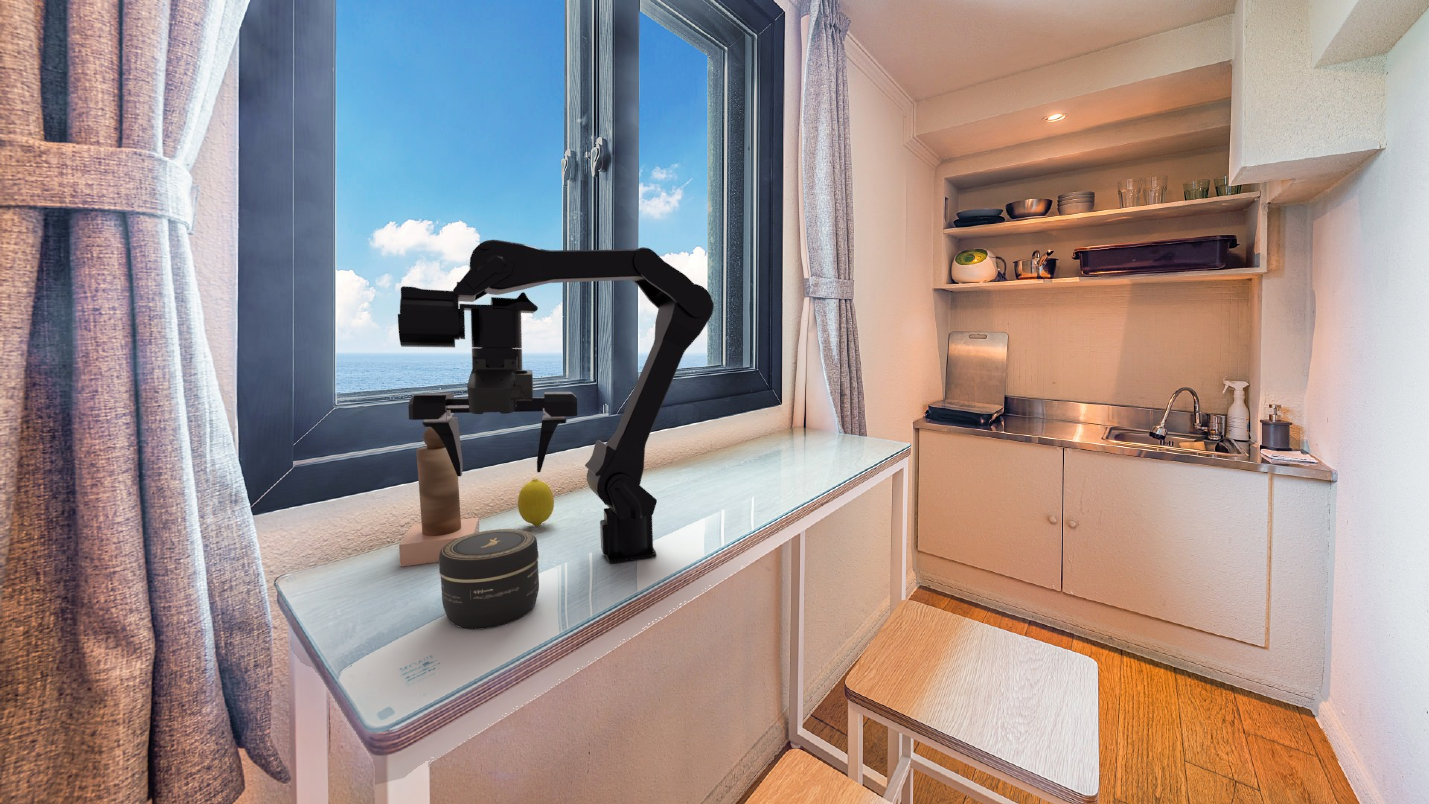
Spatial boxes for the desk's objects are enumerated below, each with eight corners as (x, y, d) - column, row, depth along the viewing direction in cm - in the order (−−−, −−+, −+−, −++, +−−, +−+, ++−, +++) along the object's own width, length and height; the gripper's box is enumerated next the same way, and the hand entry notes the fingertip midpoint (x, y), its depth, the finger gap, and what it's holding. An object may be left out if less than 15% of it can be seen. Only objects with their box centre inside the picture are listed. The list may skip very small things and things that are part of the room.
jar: (539, 584, 65) (536, 523, 64) (543, 622, 55) (539, 551, 55) (448, 598, 61) (444, 534, 61) (436, 641, 52) (431, 566, 51)
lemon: (560, 521, 89) (558, 474, 88) (546, 532, 83) (544, 482, 82) (528, 521, 89) (526, 474, 89) (512, 532, 84) (510, 482, 83)
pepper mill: (466, 523, 79) (460, 422, 77) (453, 535, 74) (446, 427, 72) (431, 525, 78) (424, 423, 77) (415, 536, 73) (408, 428, 72)
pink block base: (479, 536, 82) (478, 517, 82) (474, 557, 74) (472, 536, 73) (414, 544, 79) (412, 524, 79) (400, 566, 71) (398, 544, 70)
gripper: (391, 345, 54) (397, 494, 56) (578, 348, 60) (580, 484, 61) (418, 347, 65) (422, 472, 66) (574, 350, 71) (576, 465, 72)
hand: (500, 473), depth 66 cm, fingers open, 9 cm apart
